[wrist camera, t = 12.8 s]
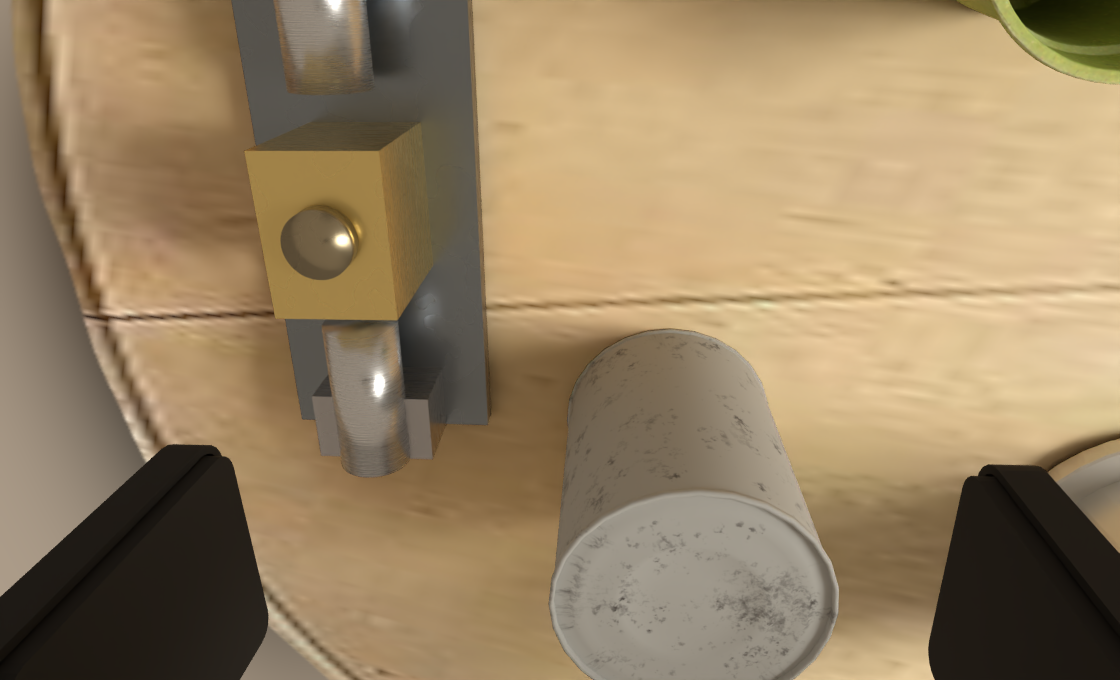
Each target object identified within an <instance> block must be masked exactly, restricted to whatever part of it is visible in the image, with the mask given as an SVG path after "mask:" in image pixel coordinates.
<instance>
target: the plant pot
mask: <svg viewBox="0 0 1120 680" xmlns="http://www.w3.org/2000/svg"><path fill="white" fill-rule="evenodd" d="M956 1H958V2H959V3H961V4H963V5H965V6H967V7H968V8H971V9H973V10H975V11H978V12H980V13H982V14H985V15H987V16H989V17H992V18H994V19H997V20H999V21H1000V23H1001V24H1002V26H1003V27H1004V29H1005V30H1006V32H1007V33H1008V34H1009V35H1010V36H1011V38H1012V39H1013V40H1014V41H1015V42H1016V43H1017V44H1018V45H1019V46H1020V47H1021V48H1022V49H1023V50H1024V51H1025V52H1027V53H1028V54H1029V55H1031V56H1032V57H1033V58H1035V59H1036V60H1038V61H1039V62H1041V63H1042V64H1044V65H1046V66H1048V67H1050V68H1052V69H1054V70H1056V71H1058V72H1061V73H1063V74H1066V75H1069V76H1072V77H1075V78H1078V79H1082V80H1087V81H1091V82H1096V83H1105V84H1120V0H956Z"/></svg>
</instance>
